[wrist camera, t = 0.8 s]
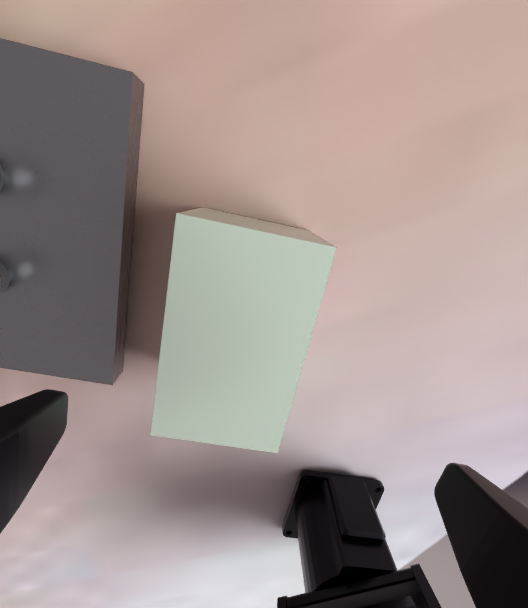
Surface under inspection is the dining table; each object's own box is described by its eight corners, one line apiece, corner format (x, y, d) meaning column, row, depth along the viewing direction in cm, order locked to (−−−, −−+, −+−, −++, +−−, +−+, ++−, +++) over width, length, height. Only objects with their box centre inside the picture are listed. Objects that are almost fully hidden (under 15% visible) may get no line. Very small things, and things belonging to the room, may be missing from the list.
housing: (270, 382, 20) (277, 453, 15) (179, 367, 20) (150, 435, 14) (309, 230, 17) (336, 247, 12) (202, 207, 17) (176, 213, 11)
